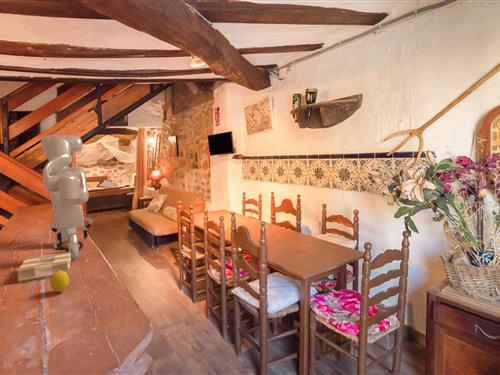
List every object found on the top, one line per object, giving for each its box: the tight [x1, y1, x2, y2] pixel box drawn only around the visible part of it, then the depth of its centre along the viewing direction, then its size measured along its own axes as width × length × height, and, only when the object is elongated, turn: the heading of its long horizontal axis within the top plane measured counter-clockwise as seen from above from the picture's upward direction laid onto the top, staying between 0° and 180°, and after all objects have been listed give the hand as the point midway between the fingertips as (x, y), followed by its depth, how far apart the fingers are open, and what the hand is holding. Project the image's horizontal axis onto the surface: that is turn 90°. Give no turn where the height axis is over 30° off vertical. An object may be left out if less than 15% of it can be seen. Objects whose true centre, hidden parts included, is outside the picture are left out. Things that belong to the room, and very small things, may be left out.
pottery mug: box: [54, 240, 84, 253], centre depth 146 cm, size 12×10×8 cm
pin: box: [67, 232, 81, 260], centre depth 137 cm, size 4×4×12 cm
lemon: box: [50, 270, 70, 293], centre depth 103 cm, size 6×6×8 cm
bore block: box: [17, 251, 72, 284], centre depth 122 cm, size 16×16×5 cm
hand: (73, 240), depth 136 cm, fingers open, 9 cm apart
